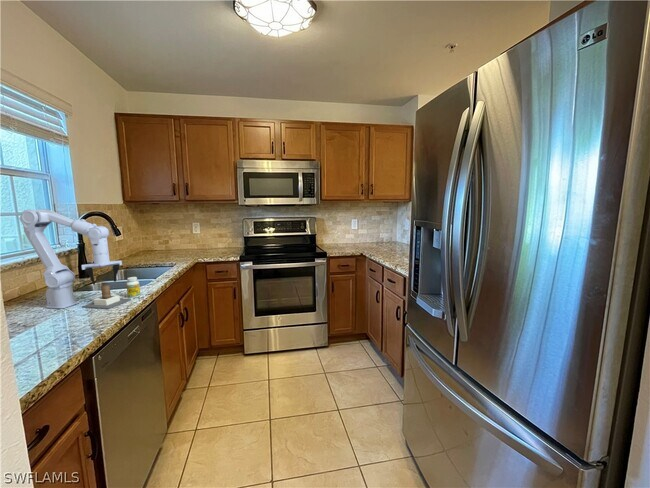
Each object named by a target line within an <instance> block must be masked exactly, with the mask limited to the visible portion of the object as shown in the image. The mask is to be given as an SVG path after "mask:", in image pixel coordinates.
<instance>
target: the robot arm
mask: <svg viewBox="0 0 650 488" xmlns="http://www.w3.org/2000/svg"><path fill="white" fill-rule="evenodd" d="M19 221H20V222H21V224H22V225H23V232H24V235H25V237H26V238H27V239H28V242H29V243H30V245H31V246H32V248H33V249H34V252H35V253H36V254H37V257H38V258H39V260H40V261H41V263H42V265H43V267H44V268H45V269H44V272H43V273H42V276H43V277H44V283H45V285H46V287H48V288H47V289H46V291H45V298H46V304H47V305H46V306H45V308H46V309H60V310H61V309H65V308H68V307H72V306H74V305H77V304H80V301H75V296H74V289H73V284H74V283H73V282H74V281H75V279H76V274H75V273H74V272H73V271H72V270H70V268H69V267H68V266H67V265H65V264H62V263H61V261H60V259H59V257H58V255H57V254H56V253H55V251H54V248H53V247H52V246H51V244H50V242H49V240H48V239H47V237H46V235H45V234H44V231H45V229H47V227H48V226H50V225H51V224H52V223H55V224H60V225H62V226H65V227H69V228H70V229H71V231H73V232H75V233H77V234H79V235H83V236H85V237H87V238H88V239H89V241H90V244H91V249H92V256H93V258H92V259H93V262H91V263H87V264H81V270H82V271H83V270H85V273H86V274H87V275H88V276H89V278H90V280H91V281H92V285H96V281H95V277H94V272H93V269H97V268H98V269H99V268H107V267H112V273H113V282H117V275H118V272H119V270H120V266H122V265H123V261H122V260H111V261H110V253H109V244H108V237H109V235H110V231H109V229H108V227H106V226H104V225H99V226H98V225H97V223H90V222H88V221H86V219H83V218H81V219H79V218H78V219H76V220H74V219H72V218H70V217H68V216H65V215H62V214H60V213H57V212H56V211H55V210H50V209H47V208H43V209H25V210H23V211H22V213H21V215H20V216H19Z"/></svg>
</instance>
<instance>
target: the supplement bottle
mask: <svg viewBox="0 0 650 488" xmlns="http://www.w3.org/2000/svg"><path fill="white" fill-rule="evenodd" d="M126 281H127V282H126V285H125V286H126V293H127V294H126V295H127V299H135V298H138V297H141V287H140V281H139V280H138V276H131V277H127V279H126Z"/></svg>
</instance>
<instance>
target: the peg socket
mask: <svg viewBox="0 0 650 488" xmlns="http://www.w3.org/2000/svg"><path fill="white" fill-rule="evenodd" d="M130 301H132V298H121V297H120V295H117V294H111V298H109V299H102V296H99V297H97V298H94V299H93V302H91V303H88V304H85V305H82V306H81V308H82V309H83V308H84V309H96V310H97V309H98V310H110V309H113V308H115V307H118V306H121V305H123V304H125V303H128V302H130Z"/></svg>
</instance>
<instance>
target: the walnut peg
mask: <svg viewBox="0 0 650 488" xmlns="http://www.w3.org/2000/svg"><path fill="white" fill-rule="evenodd" d="M100 288H101V289H100V290H101V291H100V292H101V297H102V299H109V298H111V295H112V294H111V287H110V284H104V285H101V286H100Z"/></svg>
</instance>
